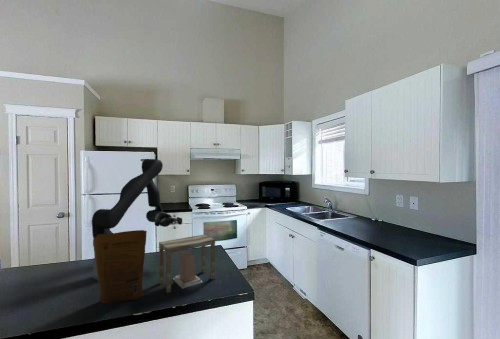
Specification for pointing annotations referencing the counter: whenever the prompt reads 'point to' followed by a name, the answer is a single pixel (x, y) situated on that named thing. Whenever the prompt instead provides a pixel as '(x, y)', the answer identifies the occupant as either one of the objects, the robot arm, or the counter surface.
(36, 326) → the counter surface
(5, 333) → the counter surface
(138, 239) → the pancake mix bag
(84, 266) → the counter surface
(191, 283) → the tray
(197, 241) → the small wooden table
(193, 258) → the plain brown box
